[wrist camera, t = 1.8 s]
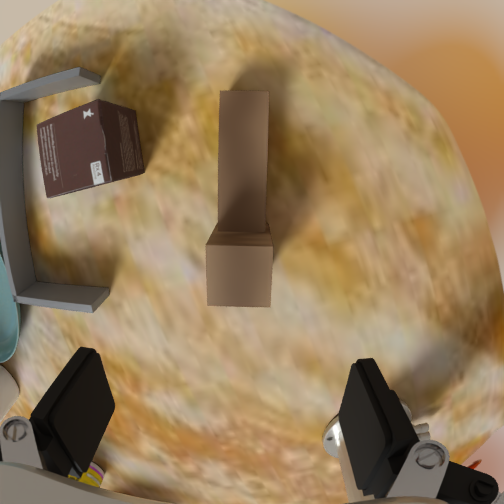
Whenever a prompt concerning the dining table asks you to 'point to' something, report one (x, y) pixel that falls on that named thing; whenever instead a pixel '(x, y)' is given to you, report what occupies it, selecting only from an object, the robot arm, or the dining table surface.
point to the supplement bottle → (91, 476)
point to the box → (89, 147)
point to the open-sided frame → (13, 204)
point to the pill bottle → (7, 392)
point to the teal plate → (7, 316)
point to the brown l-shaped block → (241, 205)
